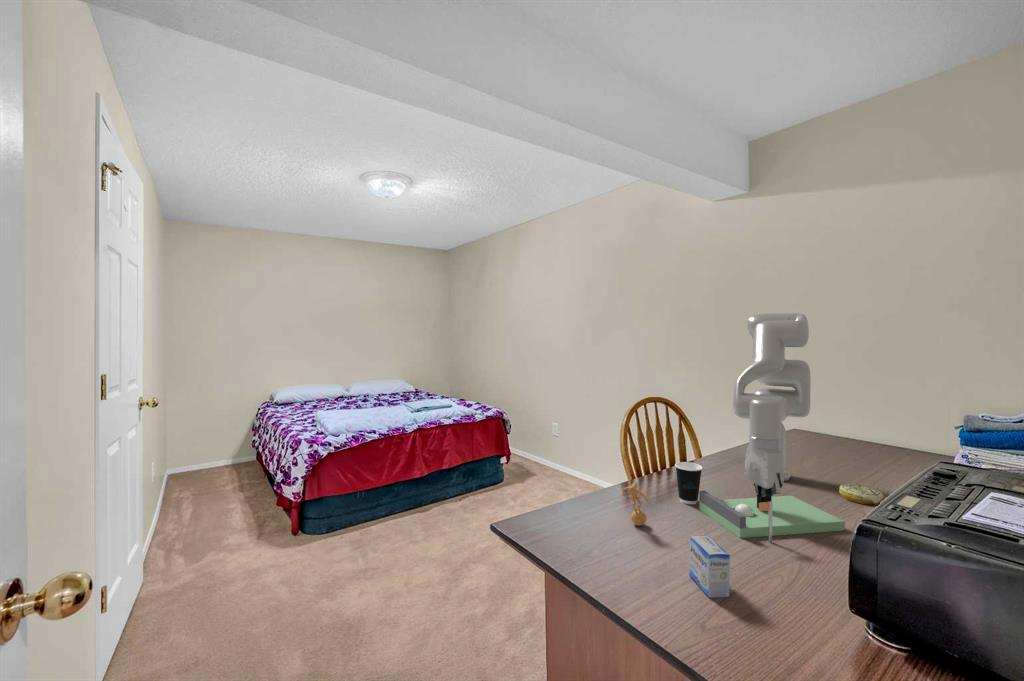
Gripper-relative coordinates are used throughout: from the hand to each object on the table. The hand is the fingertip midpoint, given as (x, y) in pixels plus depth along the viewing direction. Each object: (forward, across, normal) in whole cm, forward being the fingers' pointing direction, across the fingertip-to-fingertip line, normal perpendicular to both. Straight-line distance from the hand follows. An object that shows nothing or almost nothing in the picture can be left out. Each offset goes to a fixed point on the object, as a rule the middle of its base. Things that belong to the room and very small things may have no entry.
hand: (764, 508), depth 120 cm
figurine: (+3, 0, -37) cm, 37 cm away
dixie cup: (+3, -15, -14) cm, 21 cm away
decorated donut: (+3, -10, +40) cm, 41 cm away
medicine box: (+3, +28, -34) cm, 43 cm away
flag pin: (+3, +12, -9) cm, 15 cm away
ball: (0, +1, -6) cm, 7 cm away
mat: (+3, 0, +1) cm, 3 cm away
